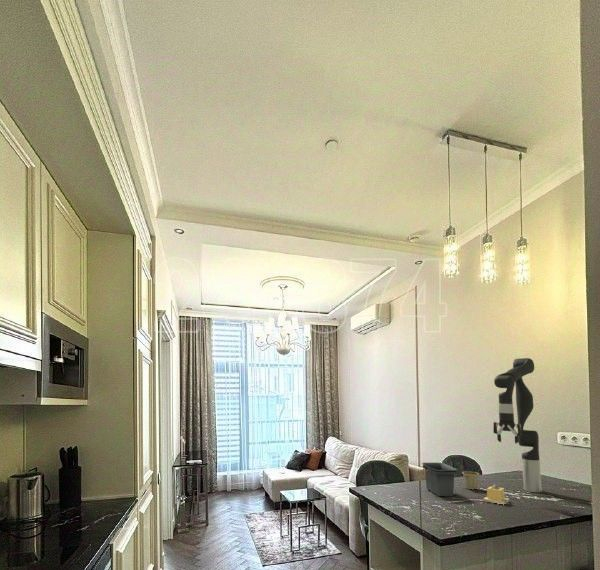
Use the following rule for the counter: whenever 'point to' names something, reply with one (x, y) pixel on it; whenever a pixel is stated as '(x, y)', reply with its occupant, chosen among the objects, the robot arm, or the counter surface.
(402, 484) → the counter surface
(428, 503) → the counter surface
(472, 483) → the flower pot
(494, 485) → the post stand
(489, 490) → the ring
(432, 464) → the storage bin
